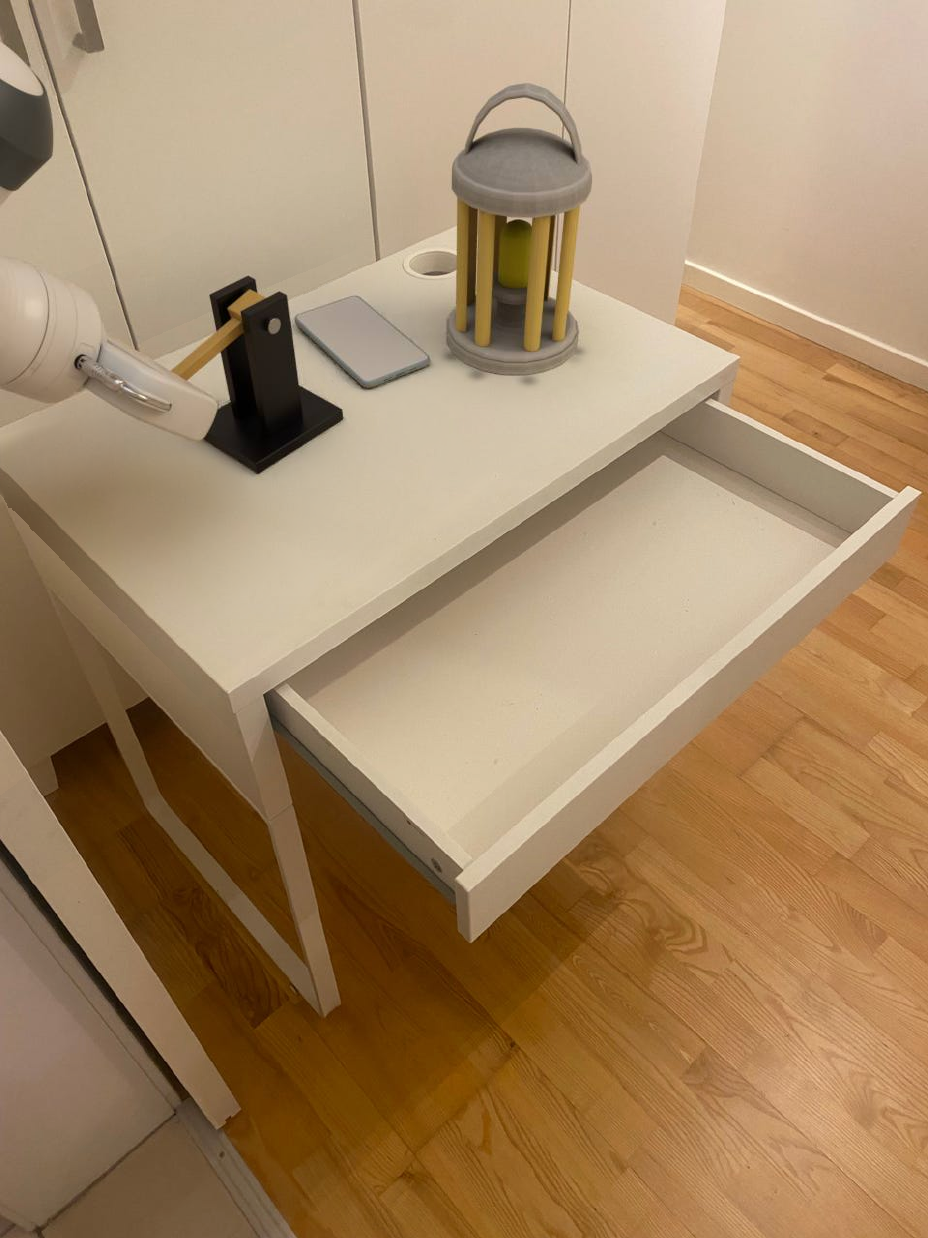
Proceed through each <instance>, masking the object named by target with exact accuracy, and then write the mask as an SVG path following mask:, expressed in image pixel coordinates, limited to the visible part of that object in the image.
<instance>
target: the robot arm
mask: <svg viewBox="0 0 928 1238" xmlns="http://www.w3.org/2000/svg"><path fill="white" fill-rule="evenodd" d="M53 153H54V121H53V113H52V107H51V103H50V99H49V96H48V91H47V88H46V86H45V85H44V83H43V82H42V81H41V79H40V77H38V75H37V74H36V73H35V72H34V70H32V69H31V67H29V66H28V64H27V63H26V62H25V61H24V60H23V59H22V58H21V57H20V56H19V55H18V53H17V54H16V52H15V51H13V50H12V49H11V47H9V46H7V45H6V44H4V42H2V41H0V208H1V207H2V206H3V204H4V203H5V202H6V201H7V200H8V198H9V197H10V196H11V194H12V193H13V192H16V191H18V190H20V188H22V186H23V185H25V184H26V183H27V182H28V181H29V180H30V179H31V178H32V177H33V176H34V175H35V174H36V173H37V172H38V171H40V170H41V168H42V167H43V166H44V165H46V163H47V162H49V160H51V159H52V157H53ZM85 389H86V390H88V391H89V392H90V393H92V394H93V395H95V396H97V397H98V398H100V399H102V401H104V402H106V403H107V404H109V405H111V406H112V407H114V408H115V409H117V410H119V411H120V412H122V413H123V414H126V415H128V416H130V417H132V418H133V419H136V420H138V421H140V422H143V423H145V424H147V425H149V426H153V427H155V428H157V429H160V430H161V431H162V430H163V431H165V432H166V433H170V434H173V435H175V436H177V437H181V438H183V439H186V440H189V441H191V442H200V441H202V440H204V439H203V438H204V437H205V436H206V434H207V432H208V430H209V429H210V427H211V425H212V423H213V420H214V418H215V415H216V413H217V410H218V409H219V408H220V407H219V406H220V404H219V401H218V399H216V398H215V397H214V396H213V395H211V394H209V392H207V391H205V390H203V389H201V388H199V387H198V386H196V385H195V384H193V383H192V382H189V380H187V381H186V380H185V379H183V378H181V377H180V376H178V375H176V374H175V373H173V372H171V370H170V369H168V368H167V367H165V366H163V365H161V364H160V363H158V362H157V361H155V360H154V359H151V358H150V357H148V356H147V355H145V354H144V353H141V351H138V350H137V349H135V348H133V347H131V346H130V345H129V344H127V343H125V342H124V341H122V340H121V339H118V338H117V337H115V336H114V335H112V334H110V333H109V332H107V330H106V327H105V324H104V322H103V321H102V318H101V315H100V311H99V309H98V306H97V304H96V302H95V301H94V298H92V296H91V295H90V294H89V293H88V292H87V291H86V290H85V289H83V288H82V287H80V286H78V285H76V284H74V283H72V282H69V281H67V280H66V279H63V278H61V277H59V276H57V275H54V274H52V273H50V272H48V271H46V270H44V269H42V268H40V267H38V266H36V265H34V264H32V263H29V262H27V261H25V260H23V259H20V258H17V257H14V256H6V255H0V390H3V391H6V392H9V393H12V394H15V395H19V396H21V397H24V398H27V399H30V400H33V401H37V402H39V403H43V404H57V403H60V402H63V401H65V400H67V399H69V398H70V397H72V396H73V395H75V394H76V393H79V392H82V391H83V390H85Z"/></svg>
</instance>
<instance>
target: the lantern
mask: <svg viewBox="0 0 928 1238" xmlns="http://www.w3.org/2000/svg"><path fill="white" fill-rule="evenodd" d="M523 98H526V99H530V100H533V101H536V102H539V103H541V104H543V105H544V106H546V107H547V108H548V109H550V110H551V111H552V112H553V113H555V115H557V117H558V118H559V119H560V121H561V123H562V125H563V126H564V129H565V130H566V131H567V133H568V136H569V138H570V139H569V140H570V141H569V140H567V139H565V138H563V137H561V136H559V135H557V134H555V133H552V132H550V131H546V130H542V129H538V128H532V127H509V128H503V129H502V128H501V129H498V130H495V131H492V132H488V133H486V134H483V135H482V136H480V137H478V138H477V139H475V137H476V133H477V131H478V129H479V128H480V125H481V124H482V123H483V121H484V120H485V119H486V117H487V116H488V115H489V114H490V113H491V111H492V110H493V109H495V108H496V107H498V106H500V105H502V104H503V103H505V102H506V101H510V100H517V99H523ZM474 139H475V140H474ZM592 185H593V174H592V169H591V165H590V162H589V160H588V159H587V158H586V157H585V156H584V155H583V153H582V144H581V140H580V137H579V133H578V129H577V124H576V121H575V120H574V118H573V117H572V115H571V113H570V112H569V110H568V108H567V106H566V105H565V103H564V102H563V101H562V100H561V99H560V98H559V97H558V96H556V95H555V94H554V93H553V92H552V91H550V89H548V88H546V87H543V86H540V85H536V84H534V83H530V82H524V83H517V84H511V85H508V86H506V87H505V88H503V89H501V90H500V91H498V92H496V93H495V94H493V95H492V96H491V97H489V99H488V100H487V101H486V102H485V104H484V105H483V106H482V108H481V109H480V110H479V112H478V113H477V114H476V115H475V118H474V120H473V124H472V126H471V128H470V130H469V133H468V135H467V139H466V141H465V143H464V148H463V149H462V150H460V152H459V153H458V154H457V156H456V157H455V158H454V160H453V162H452V166H451V190H452V192H453V193H454V194H455V196H456V197H457V199H456V268H455V269H456V270H455V271H456V273H455V274H456V279H455V281H456V282H455V283H456V284H455V306H454V308H453V309H452V310H451V312H450V314H449V315H448V317H447V318H446V333H445V335H446V336H445V337H446V343H447V346H448V347H449V349H450V351H451V353H452V354H453V355H454V356H455V357H456V358H458V359H459V360H461V362H463V363H464V364H466V365H469V366H470V367H474V368H476V369H478V370H480V371H483V372H489V373H493V374H498V375H505V376H507V375H509V376H526V375H532V374H538V373H544V372H547V371H549V370H551V369H554V368H556V367H559V366H561V365H563V364H564V363H566V361H567V360H569V359H570V358H571V357H572V356H573V355H574V354H575V351H576V348H577V346H578V344H579V336H580V332H579V331H580V330H579V323H578V321H577V319H576V317H575V316H574V315H573V313H572V312H571V310H570V302H571V293H572V285H573V284H572V282H573V276H574V267H575V266H574V265H575V256H576V248H577V237H578V229H579V219H580V210H581V205H582V204H584V203H585V202H587V199H588V198H589V196H590V195H591V192H592ZM560 214H563V221H562V232H561V243H560V252H559V253H560V254H559V265H558V275H557V283H556V294H555V295H556V296H555V298H553V297H550V288H551V276H552V268H553V267H552V266H553V256H554V254H553V253H554V245H555V233H556V224H557V216H558V215H560ZM508 218H516V219H513V220H509V221H508ZM521 218H524V219H525V218H528V219H531V223H530V222H528V221H527V220H524V219H521Z"/></svg>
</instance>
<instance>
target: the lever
mask: <svg viewBox="0 0 928 1238" xmlns="http://www.w3.org/2000/svg"><path fill="white" fill-rule="evenodd" d="M265 298H267V297H265V296H264V295H262V294H260V293H259V292H258V293H256V292H254V291H252V290H250V289H249V290H248V291H247V292H246V293H245V294H243V295H242V296H241V297H240V298H239V299H237V300H236V301H235V302H234V303H233V304H231V305H230V306H229V307H228V308H227V309H228V311H229V314H230V316H231V318H232V319H231V320H230V321H228V322H227V323H226V324H225V325H224V326H223V327H221V328H220V329H219V330H218V331H217V332H216V331H215V332H214V333H213V334H212V335H211V336H209V337H208V338H207V339H206V340H204V342H202V343H201V344H199V346H198V347H196V348H195V349H194V350H193V351H191V353H189V354H188V355H187V356H186V357H185V358H183V359H182V360H181V361H180V362H178V364H176V365H175V366H174V367H173V368H172V369H171V370H170V371H171V372H173V373H175V374H176V375H178V376H180V377H181V378H183V379H185V380H186V381H189V380H190V379H191V378H192V377H193V376H194V375H196V374H197V373H198V372H199V371H200V370H202V369H203V368H204V367H205V366H206V365H207V364H208V363H210V362H211V361H212V360H213V359H214V358H215V357H216V356H218V355H219V354H221V351H222V350H223V349H224V348H226V347H227V346H228V345H229V344H230V343H231V342H233V341H234V340H235V339H236V338H237V337H238V336H239V335H241V334H242V333H244V330H243V324H242V318H241V312H240V311H242V310H244V309H246V308H248V307H250V306H252V305H254V304H256V303H257V302H259V301H261V300H263V299H265Z"/></svg>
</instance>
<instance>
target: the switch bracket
mask: <svg viewBox="0 0 928 1238" xmlns="http://www.w3.org/2000/svg"><path fill="white" fill-rule="evenodd" d="M249 289H250V290H252V291H254V292H256V293H258V294H259V292H258V287H257V280H256V278H254V277H252V276H250V275H246V276H244V277H241V278H240V279H238V280H236V281H234V282H232V283H230V284H228V285H226V286H223V287H222V288H219V289H218V290H216V291H214V292H212V293H209V301H210V306H211V312H212V316H213V321H214V326H215V327H214V328H215V332H217V331H218V330H219V329H220V328H221V327H223V326H224V325H225V324H226V323H227V322H228V321H230V320H231V319H232V318H231V316H230V314H229V311H228V309H227V308H228V307H229V306H230V305H231V304H233V303H234V302H235V301H236V300H237V299H239V298H240V297H241V296H242V295H243V294H245V293H246V292H247V291H248V290H249ZM289 306H290V305H289V299H288V294H286V293H284V292H282V291H277V292H275V293H273V294H271V295H269V296H267V297H266V298H265V299H263V300H261V301H259V302H257V303H256V304H254V305H252V306H250V307H248V308H246V309H244V310H242V311H240V312H241V318H242V324H243V330H244V333H242V334H241V335H239V336H238V337H237V338H236V339H235V340H234V341H233V342H231V343H230V344H229V345H228V346H227V347H226V348H224V349H223V350H222V351H221V352H220V356H221V361H222V367H223V371H224V377H225V381H226V388H227V391H228V397H229V402H227V403H225V404H224V405H221V407H218V410H217V413H216V415H215V418H214V420H213V423H212V425H211V427H210V429H209V430H208V432H207V434H206V436H205V437H204V438H203V439H202V440H204V441H205V442H207V443H208V444H210V445H211V446H213V447H215V448H216V449H218V450H219V451H221V452H223V453H224V454H226V455H227V456H229V457H230V458H232V459H234V460H235V461H236V462H238V463H240V464H242V465H243V466H244V467H246V468H247V469H249V470H251V471H252V472H254V473H256V474H261V473H262V472H264V471H265V470H267V469H268V468H270V467H271V466H273V465H274V464H276V463H277V462H279V461H281V460H282V459H284V458H286V457H288V456H289V455H291V454H292V453H293V452H295V451H296V450H298V449H299V448H301V447H303V446H304V445H306V444H307V443H309V442H310V441H312V440H313V439H315V438H316V437H318V436H319V435H321V434H322V433H324V432H326V431H327V430H329V429H330V428H332V427H334V426H335V425H337V424H339V423H340V422H342V421H343V420H344V410H343V408H341V407H339V406H337V405H336V404H334V403H332V402H330V401H328V400H327V399H325V398H323V397H321V396H320V395H318V394H316V393H315V392H312V391H310V389H309V390H308V389H307V388H306V387H303V386H301V385H300V384H299V383H300V382H299V376H298V375H299V374H298V368H297V367H298V366H297V360H296V353H295V345H294V338H293V337H294V336H293V330H292V323H291V315H290V307H289Z"/></svg>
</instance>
